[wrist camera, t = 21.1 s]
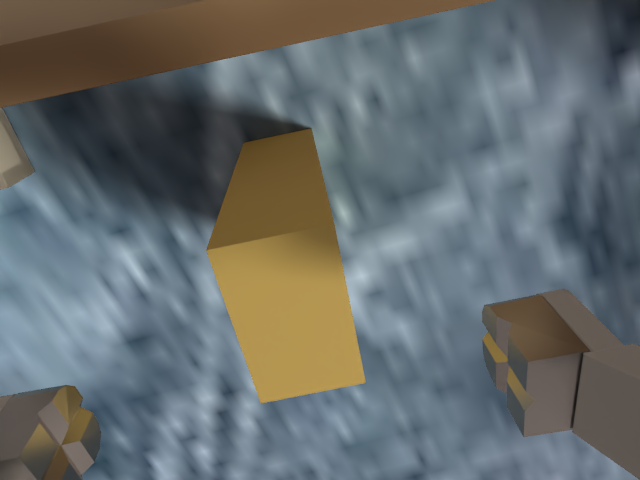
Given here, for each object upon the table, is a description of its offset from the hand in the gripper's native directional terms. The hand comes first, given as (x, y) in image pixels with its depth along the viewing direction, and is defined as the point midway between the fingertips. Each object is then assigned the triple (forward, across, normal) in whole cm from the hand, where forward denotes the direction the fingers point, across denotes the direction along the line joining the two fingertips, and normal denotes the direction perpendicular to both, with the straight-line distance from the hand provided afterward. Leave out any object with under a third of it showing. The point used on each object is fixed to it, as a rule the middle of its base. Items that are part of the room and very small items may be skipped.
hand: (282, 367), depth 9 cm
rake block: (+12, 0, +1) cm, 12 cm away
